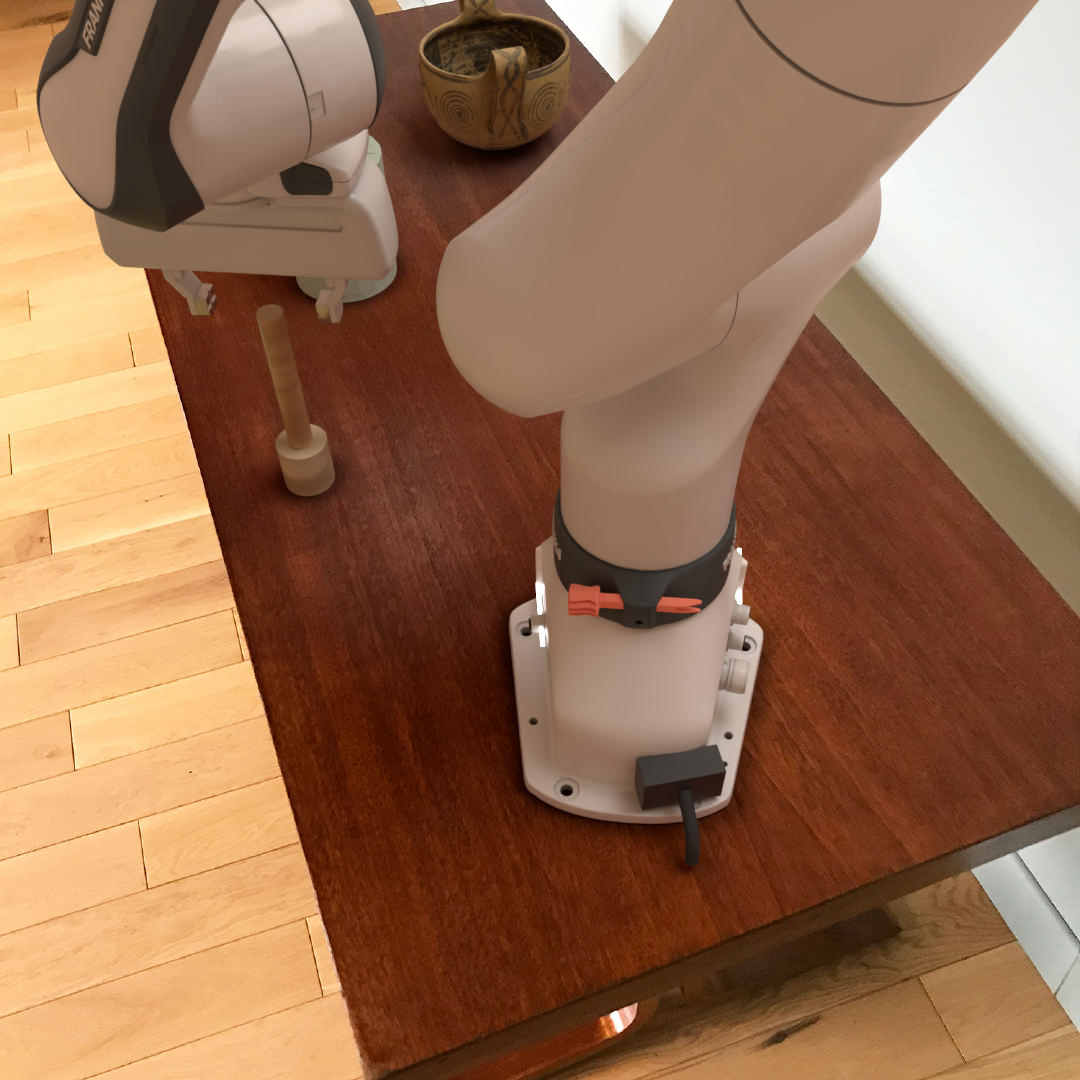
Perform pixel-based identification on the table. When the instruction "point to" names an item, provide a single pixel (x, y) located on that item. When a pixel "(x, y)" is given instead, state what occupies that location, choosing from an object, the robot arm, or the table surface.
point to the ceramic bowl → (495, 76)
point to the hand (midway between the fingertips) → (268, 314)
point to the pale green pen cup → (355, 287)
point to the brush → (294, 413)
